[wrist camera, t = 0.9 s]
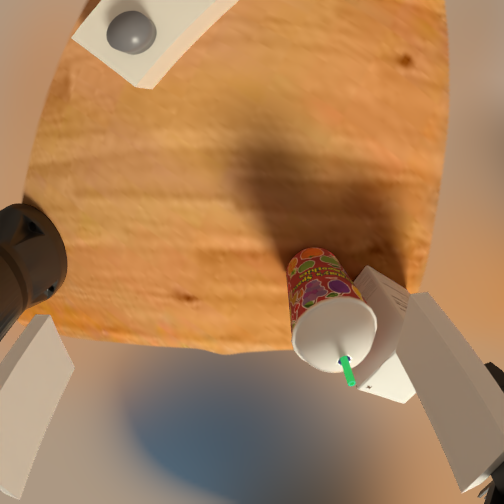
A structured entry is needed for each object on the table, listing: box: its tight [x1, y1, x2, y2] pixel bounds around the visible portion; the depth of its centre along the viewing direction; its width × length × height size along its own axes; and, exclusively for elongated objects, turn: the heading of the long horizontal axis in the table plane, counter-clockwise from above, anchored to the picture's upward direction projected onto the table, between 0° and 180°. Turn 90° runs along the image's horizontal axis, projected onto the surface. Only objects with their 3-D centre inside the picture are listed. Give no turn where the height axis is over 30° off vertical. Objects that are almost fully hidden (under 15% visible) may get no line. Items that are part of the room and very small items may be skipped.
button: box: [106, 11, 157, 55], centre depth 23 cm, size 4×4×3 cm
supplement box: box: [351, 265, 416, 403], centre depth 37 cm, size 9×9×15 cm
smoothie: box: [286, 247, 377, 386], centre depth 32 cm, size 8×8×20 cm
